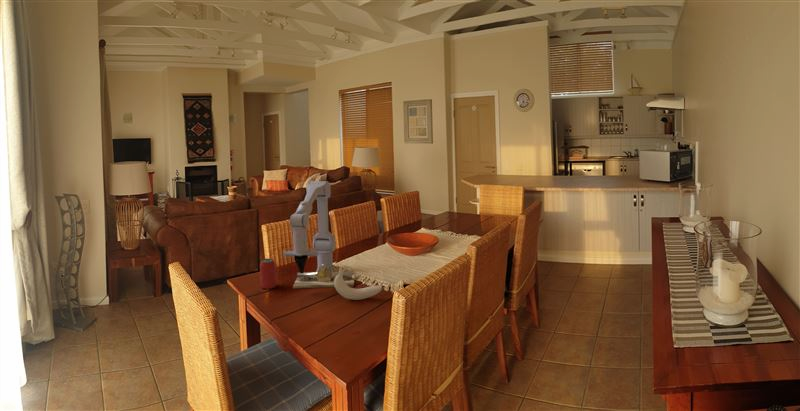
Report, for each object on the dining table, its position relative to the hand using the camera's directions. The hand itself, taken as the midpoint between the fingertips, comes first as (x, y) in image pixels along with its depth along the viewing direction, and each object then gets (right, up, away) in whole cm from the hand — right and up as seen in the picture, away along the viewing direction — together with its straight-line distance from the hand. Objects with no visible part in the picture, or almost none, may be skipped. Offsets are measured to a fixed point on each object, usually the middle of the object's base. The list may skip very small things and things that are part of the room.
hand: (301, 272), depth 203 cm
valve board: (+8, -6, +10) cm, 14 cm away
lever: (+8, 0, +3) cm, 9 cm away
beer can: (-16, -7, +5) cm, 18 cm away
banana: (+25, -10, -11) cm, 29 cm away
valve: (+8, -5, +10) cm, 14 cm away
